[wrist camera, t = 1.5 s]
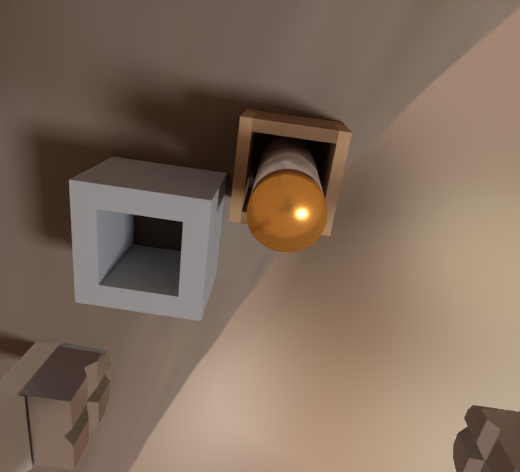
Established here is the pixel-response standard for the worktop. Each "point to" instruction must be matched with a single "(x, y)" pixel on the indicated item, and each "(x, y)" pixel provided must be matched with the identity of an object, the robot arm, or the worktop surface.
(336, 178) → the mount
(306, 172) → the pin
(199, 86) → the worktop surface
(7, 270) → the worktop surface
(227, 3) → the worktop surface
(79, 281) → the socket
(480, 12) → the worktop surface
